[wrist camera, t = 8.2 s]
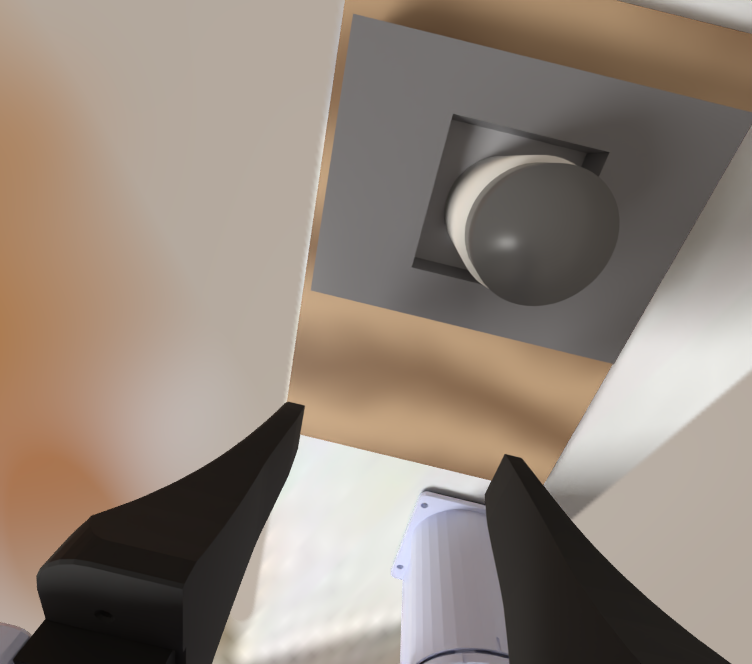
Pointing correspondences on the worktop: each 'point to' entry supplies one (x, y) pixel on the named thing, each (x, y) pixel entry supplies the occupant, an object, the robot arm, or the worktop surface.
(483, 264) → the cylinder
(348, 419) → the board
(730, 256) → the worktop surface
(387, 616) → the worktop surface
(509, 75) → the grey square frame plate
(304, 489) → the worktop surface
